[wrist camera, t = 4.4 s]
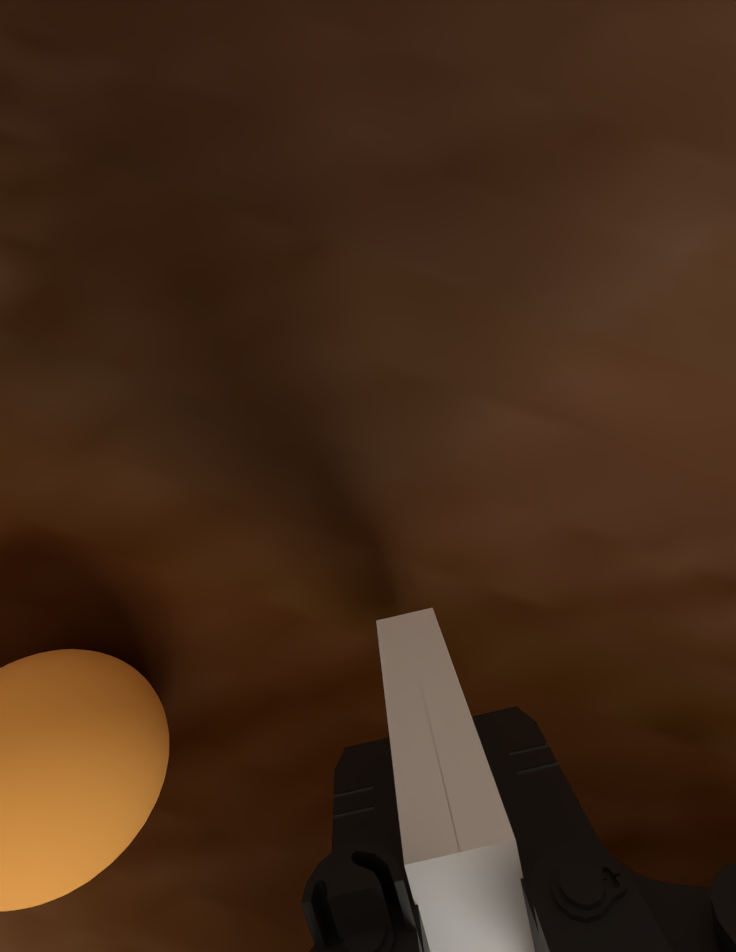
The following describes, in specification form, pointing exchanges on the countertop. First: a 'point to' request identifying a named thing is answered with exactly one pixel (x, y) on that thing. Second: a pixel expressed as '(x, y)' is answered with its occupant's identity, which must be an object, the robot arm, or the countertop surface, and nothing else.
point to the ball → (73, 769)
